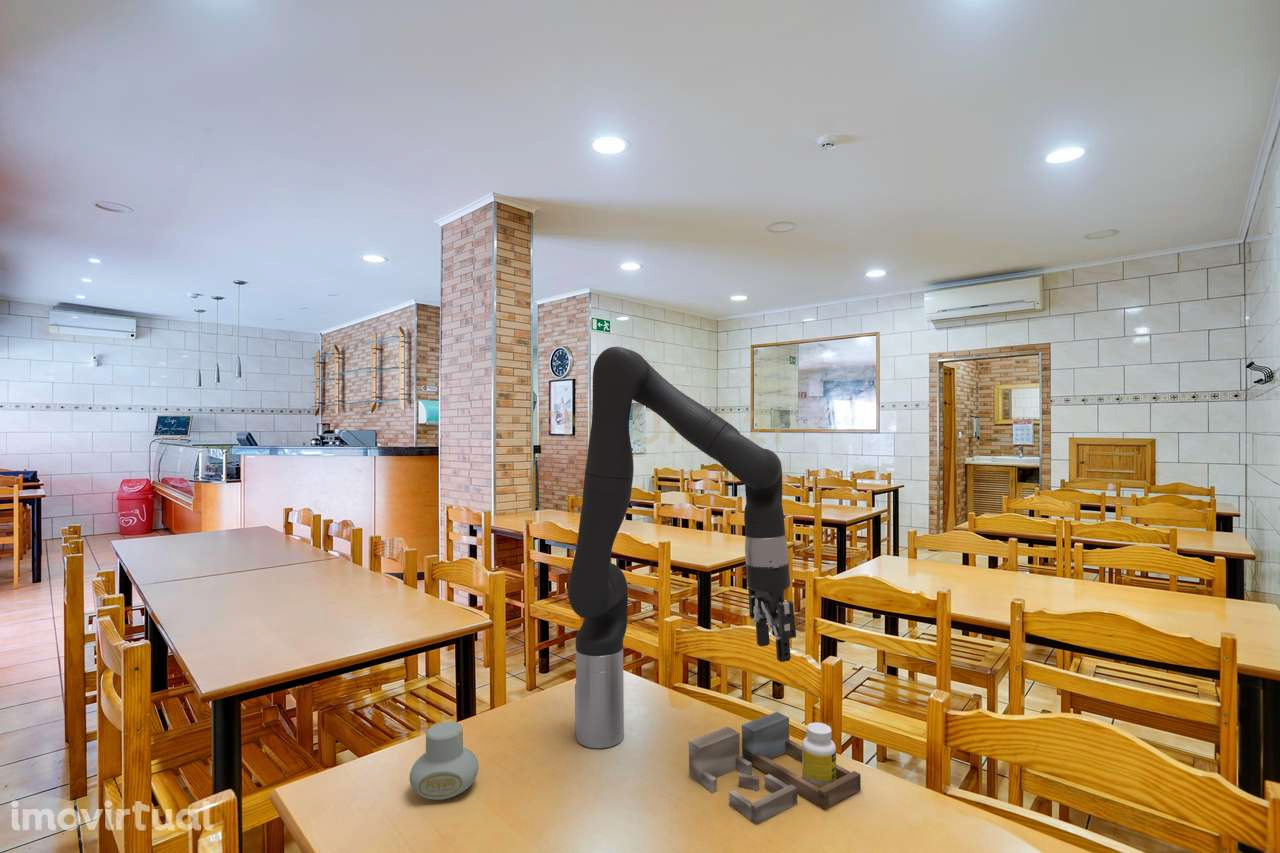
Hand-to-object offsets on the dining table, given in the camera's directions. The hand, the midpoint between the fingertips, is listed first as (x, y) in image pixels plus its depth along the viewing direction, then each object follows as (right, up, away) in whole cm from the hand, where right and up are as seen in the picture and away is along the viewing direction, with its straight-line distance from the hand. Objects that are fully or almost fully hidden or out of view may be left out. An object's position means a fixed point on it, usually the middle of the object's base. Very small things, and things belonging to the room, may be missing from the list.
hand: (773, 652), depth 109 cm
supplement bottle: (+6, -20, -7) cm, 22 cm away
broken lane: (-7, -20, -7) cm, 22 cm away
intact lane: (+4, -20, -3) cm, 20 cm away
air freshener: (-56, -21, -7) cm, 60 cm away
